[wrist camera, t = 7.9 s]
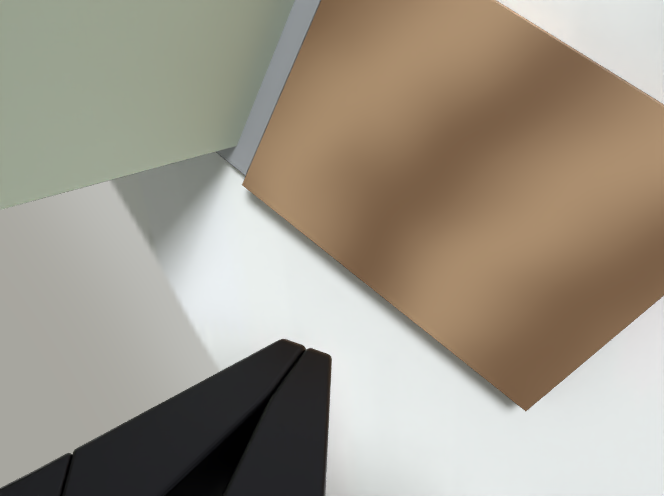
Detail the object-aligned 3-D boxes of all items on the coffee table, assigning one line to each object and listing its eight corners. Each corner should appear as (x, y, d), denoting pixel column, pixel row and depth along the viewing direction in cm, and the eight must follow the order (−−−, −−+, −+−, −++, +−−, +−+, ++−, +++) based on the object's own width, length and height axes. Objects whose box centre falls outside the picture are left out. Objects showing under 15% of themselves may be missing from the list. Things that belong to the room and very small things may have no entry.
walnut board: (782, 177, 13) (792, 187, 12) (530, 395, 18) (525, 411, 18) (371, -77, 16) (357, -84, 15) (256, 179, 21) (241, 185, 20)
